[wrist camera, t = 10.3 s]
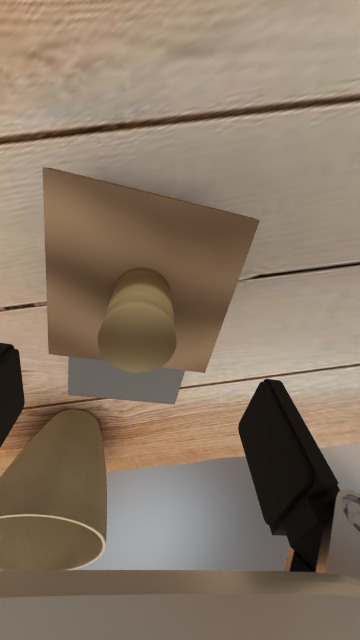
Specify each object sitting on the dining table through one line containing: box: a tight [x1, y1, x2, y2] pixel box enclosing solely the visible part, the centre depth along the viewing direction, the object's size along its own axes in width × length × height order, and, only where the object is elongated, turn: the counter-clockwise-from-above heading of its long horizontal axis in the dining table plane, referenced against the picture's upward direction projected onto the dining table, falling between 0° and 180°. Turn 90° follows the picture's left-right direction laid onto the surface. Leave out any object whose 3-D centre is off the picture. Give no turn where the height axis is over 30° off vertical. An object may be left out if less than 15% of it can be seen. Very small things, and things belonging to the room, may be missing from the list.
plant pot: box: [0, 409, 107, 571], centre depth 34 cm, size 15×15×16 cm
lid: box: [43, 168, 259, 373], centre depth 16 cm, size 13×13×7 cm
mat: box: [68, 356, 185, 404], centre depth 35 cm, size 16×16×1 cm
